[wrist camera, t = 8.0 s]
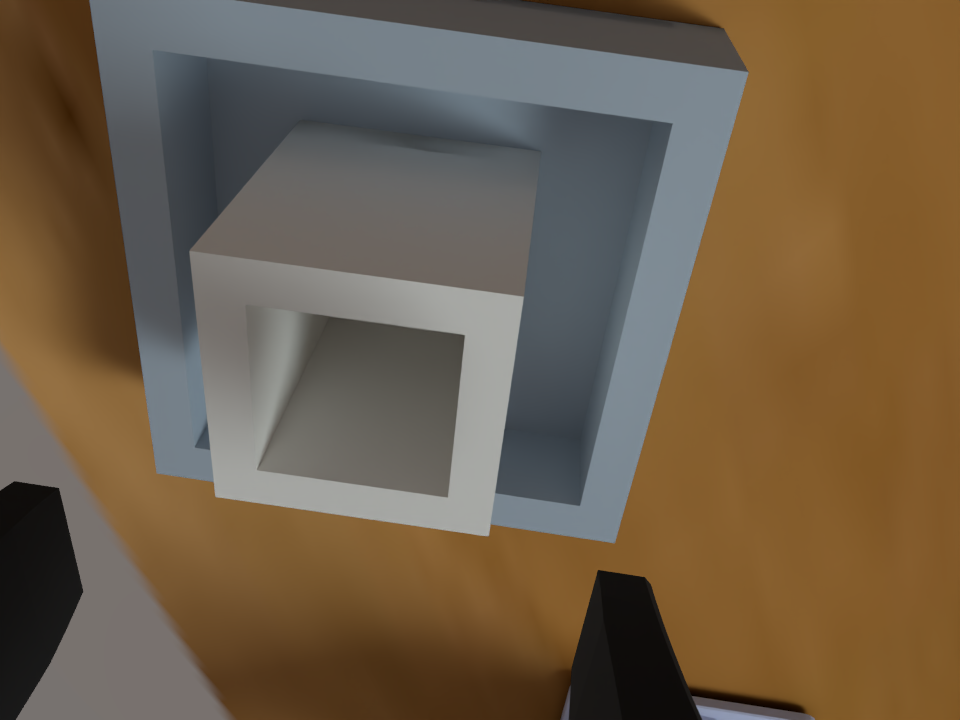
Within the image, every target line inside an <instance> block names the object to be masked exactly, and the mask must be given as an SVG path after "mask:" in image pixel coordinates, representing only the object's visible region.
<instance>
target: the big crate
mask: <svg viewBox="0 0 960 720" xmlns="http://www.w3.org/2000/svg"><path fill="white" fill-rule="evenodd" d="M89 1H90V8H91V15H92V22H93V29H94V36H95V43H96V50H97V57H98V64H99V71H100V78H101V85H102V92H103V99H104V106H105V113H106V120H107V127H108V134H109V141H110V148H111V155H112V162H113V169H114V176H115V183H116V190H117V197H118V204H119V211H120V218H121V225H122V232H123V239H124V246H125V253H126V260H127V267H128V275H129V282H130V289H131V296H132V303H133V310H134V317H135V324H136V331H137V338H138V345H139V352H140V359H141V366H142V373H143V380H144V387H145V394H146V401H147V408H148V415H149V422H150V429H151V436H152V443H153V450H154V457H155V464H156V471H157V473H159V474H165V475H172V476H178V477H185V478H192V479H198V480H205V481H211V482H214V478H213V469H212V460H211V450H210V441H209V431H208V422H207V413H206V403H205V394H204V385H203V375H202V366H201V357H200V347H199V338H198V328H197V319H196V310H195V300H194V291H193V282H192V272H191V263H190V254H189V251H190V249H191V248H192V247H193V246H194V245H195V244H196V242H197V241H198V240H199V239H200V238H201V236H202V235H203V234H204V233H205V232H206V231H207V229H208V228H209V227H210V226H211V225H212V223H213V222H214V221H215V220H216V219H217V218H218V216H219V215H220V214H221V213H222V212H223V211H224V209H225V208H226V207H227V206H228V205H229V203H230V202H231V201H232V200H233V199H234V198H235V196H236V195H237V194H238V193H239V192H240V190H241V189H242V188H243V187H244V186H245V185H246V183H247V182H248V181H249V180H250V179H251V178H252V176H253V175H254V174H255V173H256V172H257V170H258V169H259V168H260V167H261V166H262V165H263V163H264V162H265V161H266V160H267V159H268V157H269V156H270V155H271V154H272V153H273V152H274V150H275V149H276V148H277V147H278V146H279V145H280V143H281V142H282V141H283V140H284V139H285V137H286V136H287V135H288V134H289V133H290V132H291V130H292V129H293V128H294V127H295V126H296V124H297V123H298V122H299V121H300V120H307V121H315V122H322V123H330V124H337V125H345V126H353V127H360V128H368V129H375V130H383V131H391V132H398V133H406V134H413V135H421V136H428V137H436V138H444V139H451V140H459V141H466V142H474V143H482V144H489V145H497V146H504V147H512V148H520V149H527V150H535V151H541V157H540V166H539V174H538V182H537V191H536V199H535V208H534V216H533V225H532V233H531V241H530V250H529V258H528V267H527V275H526V283H525V292H524V300H523V306H522V313H521V320H520V327H519V334H518V340H517V347H516V354H515V361H514V368H513V374H512V381H511V388H510V395H509V402H508V408H507V415H506V422H505V429H504V435H503V442H502V449H501V456H500V463H499V469H498V476H497V483H496V490H495V497H494V503H493V510H492V517H491V524H493V525H499V526H506V527H512V528H519V529H525V530H532V531H538V532H545V533H551V534H558V535H565V536H571V537H578V538H584V539H591V540H597V541H604V542H610V543H615V540H616V537H617V533H618V530H619V526H620V523H621V519H622V516H623V512H624V508H625V505H626V501H627V498H628V494H629V491H630V487H631V484H632V480H633V477H634V473H635V470H636V466H637V463H638V459H639V456H640V452H641V449H642V445H643V442H644V438H645V435H646V431H647V428H648V424H649V421H650V417H651V414H652V410H653V406H654V403H655V399H656V396H657V392H658V389H659V385H660V382H661V378H662V375H663V371H664V368H665V364H666V361H667V357H668V354H669V350H670V347H671V343H672V340H673V336H674V333H675V329H676V326H677V322H678V319H679V315H680V312H681V308H682V304H683V301H684V297H685V294H686V290H687V287H688V283H689V280H690V276H691V273H692V269H693V266H694V262H695V259H696V255H697V252H698V248H699V245H700V241H701V238H702V234H703V231H704V227H705V224H706V220H707V217H708V213H709V210H710V206H711V203H712V199H713V195H714V192H715V188H716V185H717V181H718V178H719V174H720V171H721V167H722V164H723V160H724V157H725V153H726V150H727V146H728V143H729V139H730V136H731V132H732V129H733V125H734V122H735V118H736V115H737V111H738V108H739V104H740V101H741V97H742V93H743V90H744V86H745V83H746V79H747V76H748V70H747V69H746V67H745V65H744V63H743V62H742V60H741V58H740V56H739V54H738V53H737V51H736V49H735V47H734V46H733V44H732V42H731V40H730V39H729V37H728V35H727V33H726V32H725V30H724V29H723V28H716V27H709V26H701V25H694V24H687V23H680V22H673V21H665V20H658V19H651V18H644V17H637V16H629V15H622V14H615V13H608V12H601V11H593V10H586V9H579V8H572V7H564V6H557V5H550V4H543V3H536V2H528V1H521V0H89Z"/></svg>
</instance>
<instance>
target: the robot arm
mask: <svg viewBox="0 0 960 720" xmlns="http://www.w3.org/2000/svg"><path fill="white" fill-rule="evenodd" d="M82 593H83V589H82V584H81V580H80V575H79V571H78V567H77V563H76V559H75V554H74V550H73V546H72V542H71V537H70V533H69V529H68V525H67V520H66V516H65V512H64V508H63V503H62V499H61V495H60V491H59V488H55V487H48V486H41V485H35V484H28V483H22V482H13V483H11V484H10V485H8V486H7V487H5V488H4V489H2V490H1V491H0V720H16V718H17V717H18V715H19V713H20V712H21V710H22V708H23V707H24V705H25V704H26V702H27V700H28V699H29V697H30V695H31V694H32V692H33V691H34V689H35V687H36V686H37V684H38V682H39V681H40V679H41V677H42V676H43V674H44V672H45V671H46V669H47V667H48V666H49V664H50V662H51V660H52V658H53V656H54V654H55V652H56V650H57V648H58V646H59V643H60V642H61V640H62V637H63V635H64V633H65V631H66V629H67V627H68V624H69V622H70V620H71V618H72V616H73V613H74V611H75V609H76V607H77V604H78V602H79V600H80V597H81V595H82ZM560 720H815V719H814V718H813V717H812V716H810V715H808V714H804V713H798V712H792V711H785V710H779V709H773V708H766V707H760V706H753V705H747V704H741V703H734V702H728V701H722V700H715V699H709V698H702V697H696V696H692V695H691V693H690V691H689V688H688V686H687V684H686V681H685V679H684V676H683V674H682V671H681V669H680V666H679V664H678V661H677V659H676V656H675V653H674V651H673V648H672V646H671V643H670V640H669V638H668V635H667V632H666V629H665V627H664V624H663V621H662V618H661V615H660V612H659V609H658V606H657V603H656V600H655V597H654V594H653V590H652V587H651V584H650V583H649V582H648V581H647V579H646V578H645V577H640V576H633V575H627V574H620V573H614V572H607V571H601V570H598V572H597V576H596V580H595V583H594V587H593V591H592V595H591V598H590V602H589V606H588V609H587V613H586V617H585V620H584V624H583V628H582V631H581V635H580V639H579V643H578V646H577V650H576V654H575V657H574V661H573V665H572V673H571V685H570V687H569V691H568V694H567V698H566V702H565V705H564V709H563V712H562V716H561V719H560Z"/></svg>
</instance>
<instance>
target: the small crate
mask: <svg viewBox="0 0 960 720" xmlns="http://www.w3.org/2000/svg"><path fill="white" fill-rule="evenodd" d="M540 157H541V151H535V150H527V149H520V148H512V147H504V146H497V145H489V144H482V143H474V142H466V141H459V140H451V139H444V138H436V137H428V136H421V135H413V134H406V133H398V132H391V131H383V130H375V129H368V128H360V127H353V126H345V125H337V124H330V123H322V122H315V121H307V120H300V121H299V122H298V123H297V124H296V126H295V127H294V128H293V129H292V130H291V132H290V133H289V134H288V135H287V136H286V137H285V139H284V140H283V141H282V142H281V143H280V145H279V146H278V147H277V148H276V149H275V150H274V152H273V153H272V154H271V155H270V156H269V157H268V159H267V160H266V161H265V162H264V163H263V165H262V166H261V167H260V168H259V169H258V170H257V172H256V173H255V174H254V175H253V176H252V178H251V179H250V180H249V181H248V182H247V183H246V185H245V186H244V187H243V188H242V189H241V190H240V192H239V193H238V194H237V195H236V196H235V198H234V199H233V200H232V201H231V202H230V203H229V205H228V206H227V207H226V208H225V209H224V211H223V212H222V213H221V214H220V215H219V216H218V218H217V219H216V220H215V221H214V222H213V223H212V225H211V226H210V227H209V228H208V229H207V231H206V232H205V233H204V234H203V235H202V236H201V238H200V239H199V240H198V241H197V242H196V244H195V245H194V246H193V247H192V248H191V249H190V251H189V254H190V263H191V272H192V282H193V291H194V300H195V310H196V319H197V328H198V338H199V347H200V357H201V366H202V375H203V385H204V394H205V403H206V413H207V422H208V431H209V441H210V450H211V460H212V469H213V478H214V488H215V497H220V498H227V499H234V500H241V501H248V502H255V503H261V504H268V505H275V506H282V507H289V508H296V509H303V510H310V511H317V512H323V513H330V514H337V515H344V516H351V517H358V518H365V519H372V520H379V521H385V522H392V523H399V524H406V525H413V526H420V527H427V528H434V529H441V530H447V531H454V532H461V533H468V534H475V535H482V536H489V531H490V524H491V517H492V510H493V503H494V497H495V490H496V483H497V476H498V469H499V463H500V456H501V449H502V442H503V435H504V429H505V422H506V415H507V408H508V402H509V395H510V388H511V381H512V374H513V368H514V361H515V354H516V347H517V340H518V334H519V327H520V320H521V313H522V306H523V300H524V292H525V283H526V275H527V267H528V258H529V250H530V241H531V233H532V225H533V216H534V208H535V199H536V191H537V182H538V174H539V166H540Z"/></svg>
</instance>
